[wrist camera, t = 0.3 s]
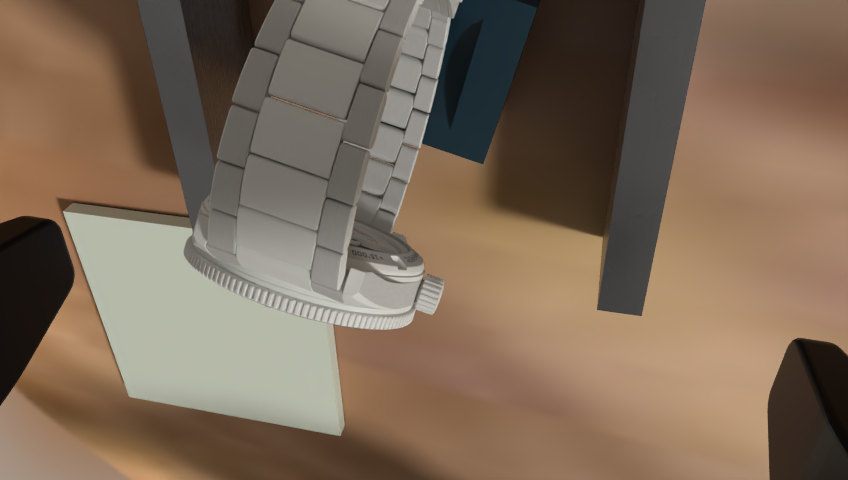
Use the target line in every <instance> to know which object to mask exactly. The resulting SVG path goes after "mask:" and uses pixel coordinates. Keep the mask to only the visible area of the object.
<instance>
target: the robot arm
mask: <svg viewBox="0 0 848 480" xmlns="http://www.w3.org/2000/svg"><path fill="white" fill-rule="evenodd" d="M74 277H75V273H74V267H73V264H72V261H71V258H70V255H69V252H68V249H67V246H66V243H65V240H64V237H63V234H62V231H61V228H60V227H59V225H58V224H57V223H56V222H55V221H52V220H50V219H45V218H39V217H33V216H21V217H17V218H15V219H12V220H9V221H6V222H3V223H0V406H1V404H2V403H3V401H4V400H5V399H6V397H7V396H8V394H9V393H10V391H11V390H12V388H13V387H14V386H15V384H16V383H17V381H18V379H19V378H20V376H21V374H22V373H23V371H24V370H25V368H26V366H27V365H28V363H29V361H30V359H31V358H32V356H33V354H34V352H35V351H36V349H37V347H38V346H39V344H40V342H41V340H42V339H43V337H44V335H45V334H46V332H47V330H48V328H49V327H50V325H51V323H52V321H53V320H54V318H55V316H56V315H57V313H58V311H59V309H60V308H61V306H62V304H63V302H64V301H65V299H66V297H67V296H68V294H69V292H70V290H71V288H72V286H73V283H74ZM768 441H769V472H770V480H848V355H847V354H846V353H845V352H844V351H843V350H842V349H841V348H839V347H838V346H837V345H835V344H833V343H830V342H824V341H817V340H811V339H805V338H797V339H795V340H793V341H792V342H791V343H790V344H789V346H788V348H787V350H786V353H785V355H784V358H783V360H782V363H781V365H780V368H779V370H778V373H777V375H776V378H775V380H774V383H773V386H772V388H771V391H770V395H769V400H768Z"/></svg>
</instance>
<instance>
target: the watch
mask: <svg viewBox="0 0 848 480" xmlns="http://www.w3.org/2000/svg"><path fill="white" fill-rule="evenodd" d="M539 2H540V0H275V1H274V3H273V5H272V7H271V8H270V10H269V12H268V14H267V16H266V18H265V21H264V23H263V25H262V27H261V29H260V31H259V33H258V36H257V38H256V41H255V46H256V47H257V48H252V49H251V50H250V52H249V55H248V57H247V60H246V62H245V64H244V67H243V70H242V72H241V75H240V77H239V80H238V83H237V86H236V89H235V91H234V94H233V98H232V102H233V103H236V104H239V105H242V106H244V107H247V108H250V109H253V110H256V111H259V112H260V113H257V112H254V111H251V110H248V109H246V108H243V107H240V106H237V105H232V106H231V108H230V110H229V114H228V117H227V120H226V123H225V127H224V130H223V134H222V137H221V141H220V145H219V149H218V153H217V158H218V159H220V160H219V161H218V162H217V164H216V167H215V172H214V177H213V182H212V188H211V194H210V195H209V196H208V197H207V198H206V199H205V200H204V201H203V202H202V205H201V208H200V209H199V213H198V216H197V220H196V223H195V227H194V230H193V233H192V235H191V236H190V237H189V238H188V239H187V241H186V244H185V248H184V252H183V253H184V257H185V259H186V260H187V261H188V263H189V264H190V265H191V266H192V267H193V268H194V269H195V270H197V271H198V272H199V273H201V274H202V275H204V276H205V277H207V278H208V279H210V280H211V281H213V282H215V283H216V284H218V285H220V286H222V287H224V288H226V289H228V290H230V291H232V292H234V293H236V294H238V295H240V296H243V297H245V298H247V299H250V300H252V301H255V302H257V303H260V304H262V305H265V307H267V308H270V309H277V310H279V311H283V312H286V313H289V314H292V315H296V316H299V317H303V318H307V319H311V320H315V321H319V322H323V323H328V324H333V325H339V326H345V327H352V328H360V329H380V330H381V329H397V328H400V327H404V326H407V325H408V324H410V323H411V322H412V320H413V317H414V314H415V311H416V310H419V311H422V312H425V313H428V314H431V315H433V313H434V312H435V310H436V308H437V306H438V304H439V301H440V298H441V295H442V292H443V288H444V281H445V280H443V279H440V278H437V277H435V276H432V275H429V274H427V276H426V277H425V280H423V276H424V272H425V271H424V262H423V259H422V258H421V256H420V255H419V254H418V253H417V252H415V251H414V250H413V249H412V248H411V247H410V246H409V245H408V244H407V241H406V237H405V236H404V235H401V234H398V233H396V232H393V233H392V234H391V232H392V229H393V226H394V223H395V220H396V217H397V216H398V213H399V210H400V207H401V204H402V201H403V198H404V195H405V192H406V188H407V183H409V181H410V178H411V175H412V172H413V168H414V165H415V162H416V158H417V155H418V151H419V150H418V149H415V148H413V147H410V146H407V145H404V144H403V143H406V144H408V145H411V146H414V147H417V148H420V147H421V144H425V145H428V146H431V147H434V148H437V149H440V150H443V151H446V152H449V153H452V154H454V155H457V156H460V157H463V158H466V159H469V160H472V161H475V162H478V163H481V164H483V163H484V160H485V157H486V154H487V152H488V149H489V146H490V143H491V140H492V137H493V135H494V132H495V129H496V126H497V123H498V120H499V118H500V115H501V112H502V109H503V106H504V103H505V100H506V97H507V95H508V92H509V89H510V86H511V83H512V80H513V77H514V74H515V72H516V69H517V66H518V63H519V60H520V57H521V54H522V51H523V48H524V46H525V43H526V40H527V37H528V34H529V31H530V28H531V25H532V22H533V20H534V17H535V14H536V11H537V8H538V5H539ZM279 56H280V57H279ZM270 96H274V97H277V98H280V99H283V100H286V101H289V102H292V103H295V104H298V105H301V106H303V107H306V108H309V109H312V110H315V111H318V112H321V113H324V114H327V115H330V116H333V117H336V118H337V119H338V120H339V121H338V120H335V119H332V118H330V117H327V116H324V115H321V114H318V113H315V112H312V111H309V110H306V109H303V108H300V107H297V106H294V105H292V104H289V103H286V102H283V101H280V100H277V99H274V98H271V97H270ZM402 144H403V145H402ZM370 157H373V158H376V159H379V160H382V161H384V162H387V163H390V164H393V165H395V166H392V165H389V164H387V163H384V162H381V161H378V160H375V159H372V158H370ZM391 177H392V178H394V179H392V178H391ZM395 179H397V180H395ZM398 180H400V181H398ZM401 181H403V182H401ZM404 182H406V183H404ZM414 302H416V306H415V303H414Z"/></svg>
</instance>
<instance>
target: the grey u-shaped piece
mask: <svg viewBox="0 0 848 480" xmlns="http://www.w3.org/2000/svg"><path fill="white" fill-rule="evenodd" d="M705 2H706V0H639V3H638V10H637V16H636V23H635V30H634V36H633V43H632V50H631V56H630V63H629V69H628V76H627V83H626V89H625V96H624V102H623V109H622V116H621V122H620V129H619V135H618V142H617V149H616V155H615V162H614V168H613V175H612V182H611V188H610V195H609V201H608V208H607V215H606V221H605V228H604V235H603V243H602V256H601V268H600V280H599V293H598V305H597V310H602V311H609V312H616V313H623V314H631V315H638V316H642V311H643V306H644V301H645V296H646V292H647V287H648V282H649V277H650V272H651V267H652V262H653V257H654V252H655V247H656V242H657V238H658V233H659V228H660V223H661V218H662V213H663V208H664V203H665V198H666V193H667V188H668V184H669V179H670V174H671V169H672V164H673V159H674V154H675V149H676V144H677V139H678V134H679V130H680V125H681V120H682V115H683V110H684V105H685V100H686V95H687V90H688V85H689V80H690V76H691V71H692V66H693V61H694V56H695V51H696V46H697V41H698V36H699V31H700V26H701V22H702V17H703V12H704V7H705ZM137 3H138V7H139V11H140V15H141V20H142V24H143V28H144V32H145V36H146V40H147V44H148V49H149V53H150V57H151V61H152V65H153V69H154V73H155V78H156V82H157V86H158V90H159V94H160V98H161V102H162V107H163V111H164V115H165V119H166V123H167V127H168V131H169V136H170V140H171V144H172V148H173V152H174V156H175V160H176V165H177V169H178V173H179V177H180V181H181V185H182V189H183V194H184V198H185V202H186V206H187V210H188V214H189V218H190V223H191V227H192V231H193V230H194V227H195V223H196V220H197V216H198V213H199V209H200V208H201V205H202V202H203V201H204V200H205V199H206V198H207V197H208V196H209V195H210V194H211V188H212V182H213V177H214V172H215V167H216V164H217V162H218V161H219V160H220V159H218V158H217V153H218V149H219V145H220V141H221V137H222V134H223V130H224V127H225V123H226V120H227V117H228V114H229V110H230V108H231V106H232V105H237V106H240V107H243V108H246V109H248V110H251V111H254V112H257V113H260V112H259V111H256V110H253V109H250V108H247V107H244V106H242V105H239V104H236V103H233V102H232V98H233V94H234V91H235V89H236V86H237V83H238V80H239V77H240V75H241V72H242V70H243V67H244V64H245V62H246V60H247V57H248V55H249V52H250V50H251V49H252V48H254V43H253V36H252V30H251V23H250V17H249V10H248V4H247V0H137Z"/></svg>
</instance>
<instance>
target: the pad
mask: <svg viewBox="0 0 848 480" xmlns="http://www.w3.org/2000/svg"><path fill="white" fill-rule="evenodd" d="M63 213H64V216H65V219H66V221H67V224H68V227H69V230H70V233H71V235H72V238H73V241H74V244H75V246H76V249H77V252H78V255H79V258H80V260H81V263H82V266H83V269H84V272H85V274H86V277H87V280H88V283H89V286H90V288H91V291H92V294H93V297H94V300H95V302H96V305H97V308H98V311H99V313H100V316H101V319H102V322H103V325H104V327H105V330H106V333H107V336H108V339H109V341H110V344H111V347H112V350H113V353H114V355H115V358H116V361H117V364H118V367H119V369H120V372H121V375H122V378H123V380H124V383H125V386H126V389H127V392H128V394H129V397H133V398H138V399H143V400H149V401H154V402H160V403H165V404H170V405H176V406H181V407H186V408H192V409H197V410H203V411H208V412H213V413H219V414H224V415H229V416H235V417H240V418H246V419H251V420H256V421H262V422H267V423H272V424H278V425H283V426H289V427H294V428H299V429H305V430H310V431H315V432H321V433H326V434H332V435H337V436H341V433H342V431H343V429H344V426H345V422H344V414H343V405H342V397H341V388H340V380H339V371H338V363H337V354H336V346H335V337H334V329H333V324H328V323H323V322H319V321H315V320H311V319H307V318H303V317H299V316H296V315H292V314H289V313H286V312H283V311H279V310H277V309H270V308H267V307H265V305H262V304H260V303H257V302H255V301H252V300H250V299H247V298H245V297H243V296H240V295H238V294H236V293H234V292H232V291H230V290H228V289H226V288H224V287H222V286H220V285H218V284H216V283H215V282H213V281H211V280H210V279H208V278H207V277H205V276H204V275H202V274H201V273H199V272H198V271H197V270H195V269H194V268H193V267H192V266H191V265H190V264H189V263H188V261H187V260H186V259H185V257H184V253H183V252H184V248H185V244H186V241H187V239H188V238H189V237H190V236H191V235H192V233H193V231H192V227H191V223H190V218H186V217H178V216H171V215H163V214H155V213H148V212H140V211H132V210H125V209H117V208H109V207H101V206H94V205H86V204H78V203H72V204H71V205H70V206H68V207H67V208H66V209H65V210H64V211H63Z"/></svg>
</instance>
